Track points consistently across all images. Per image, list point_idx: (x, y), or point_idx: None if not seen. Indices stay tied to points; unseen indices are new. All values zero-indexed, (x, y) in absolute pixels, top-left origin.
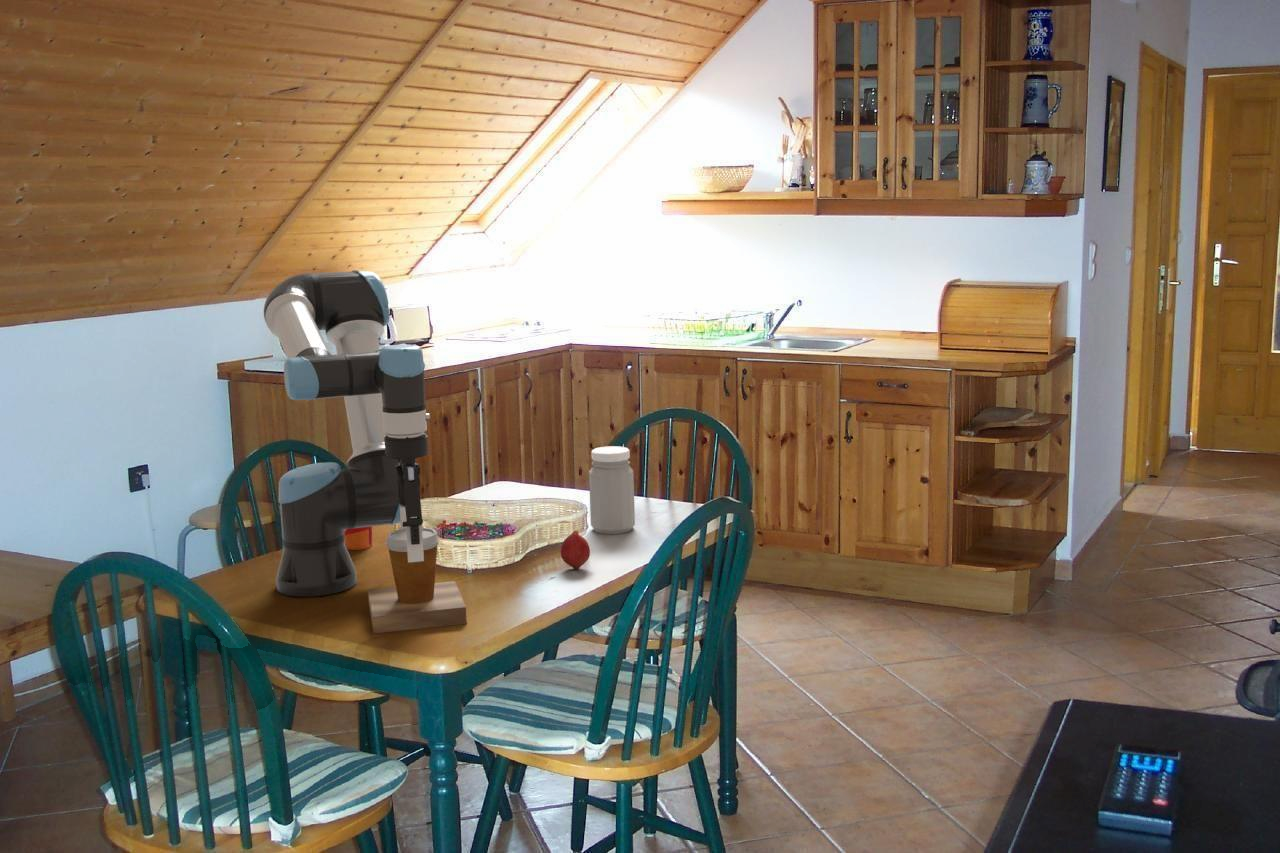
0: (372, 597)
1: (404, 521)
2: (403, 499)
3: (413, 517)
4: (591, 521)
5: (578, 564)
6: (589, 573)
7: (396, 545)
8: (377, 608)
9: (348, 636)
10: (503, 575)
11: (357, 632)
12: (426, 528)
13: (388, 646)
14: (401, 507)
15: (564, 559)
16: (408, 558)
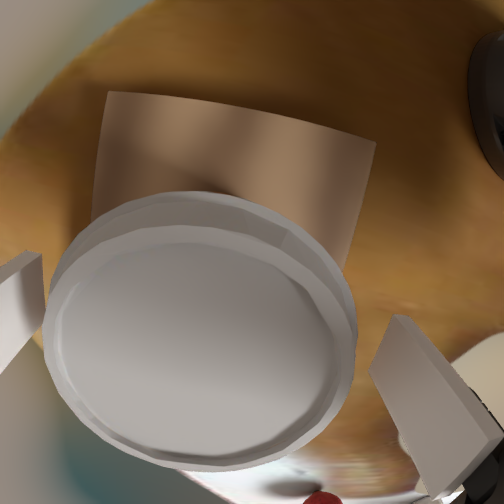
0: (296, 129)
1: (433, 393)
2: (493, 499)
3: (415, 443)
4: (434, 502)
5: (305, 500)
6: (286, 498)
7: (82, 242)
8: (174, 115)
9: (138, 38)
10: (365, 427)
11: (154, 61)
12: (269, 456)
13: (33, 120)
14: (482, 446)
15: (319, 498)
16: (16, 259)
